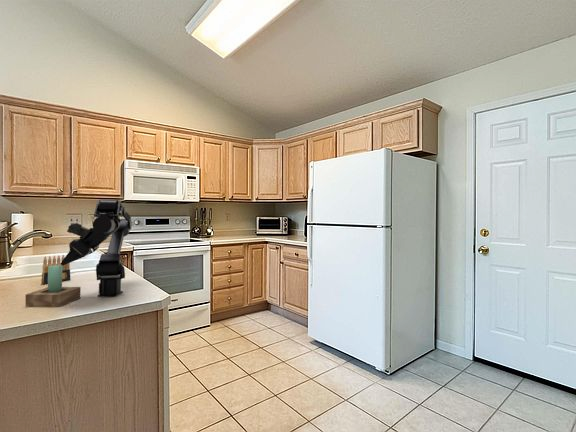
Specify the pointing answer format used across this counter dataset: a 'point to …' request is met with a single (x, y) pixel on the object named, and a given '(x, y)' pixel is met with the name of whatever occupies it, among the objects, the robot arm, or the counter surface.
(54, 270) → the peg
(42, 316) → the counter surface
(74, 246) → the robot arm
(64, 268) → the ammunition clip
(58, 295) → the socket block
